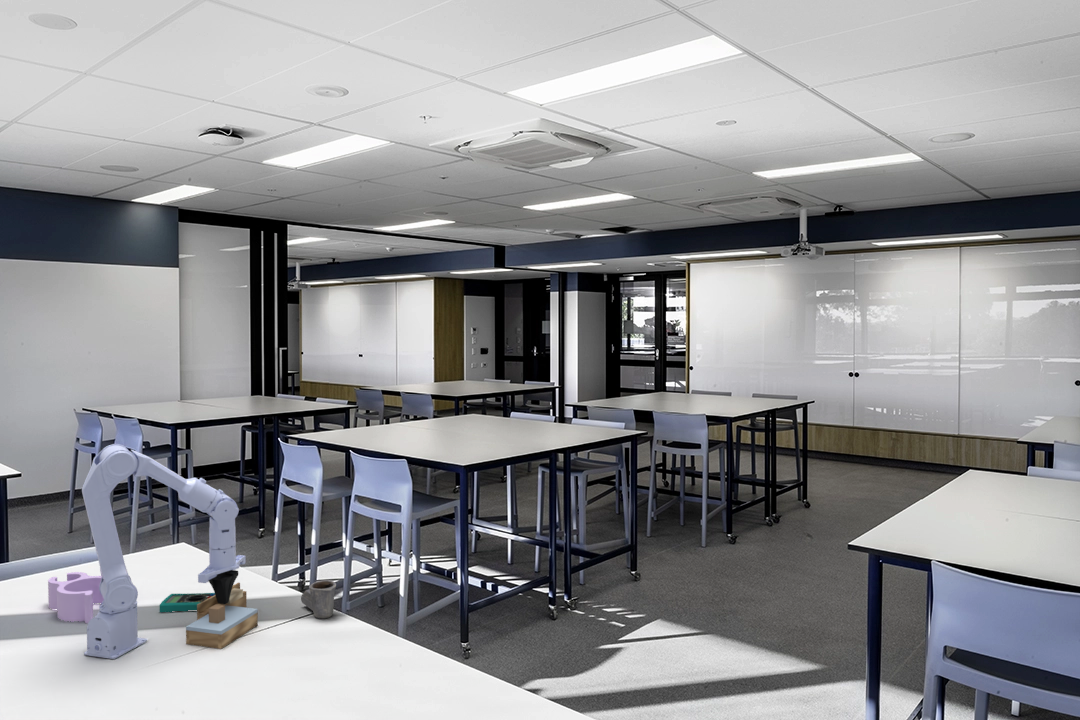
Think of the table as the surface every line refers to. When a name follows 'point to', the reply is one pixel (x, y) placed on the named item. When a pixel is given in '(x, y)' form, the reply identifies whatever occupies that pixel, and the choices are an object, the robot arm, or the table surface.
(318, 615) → the pipe
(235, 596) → the cream rectangular block
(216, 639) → the toolbox
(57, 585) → the clip
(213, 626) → the lid
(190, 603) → the digital multimeter
